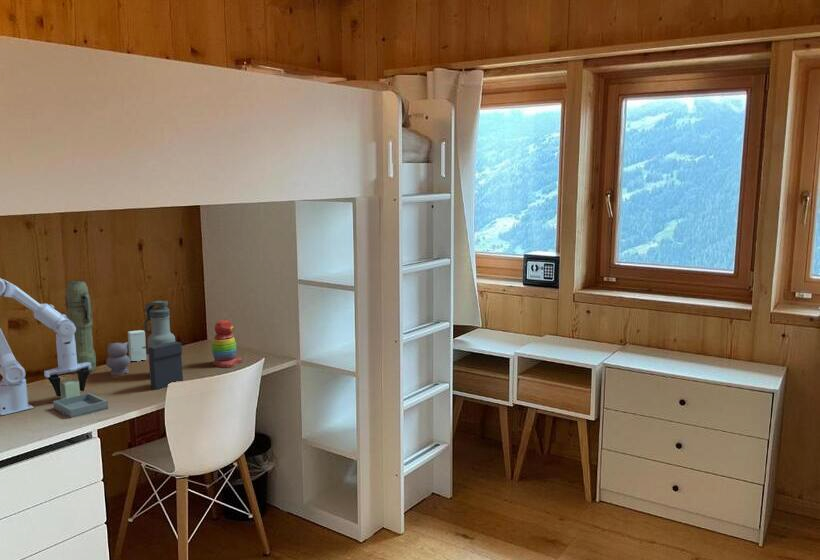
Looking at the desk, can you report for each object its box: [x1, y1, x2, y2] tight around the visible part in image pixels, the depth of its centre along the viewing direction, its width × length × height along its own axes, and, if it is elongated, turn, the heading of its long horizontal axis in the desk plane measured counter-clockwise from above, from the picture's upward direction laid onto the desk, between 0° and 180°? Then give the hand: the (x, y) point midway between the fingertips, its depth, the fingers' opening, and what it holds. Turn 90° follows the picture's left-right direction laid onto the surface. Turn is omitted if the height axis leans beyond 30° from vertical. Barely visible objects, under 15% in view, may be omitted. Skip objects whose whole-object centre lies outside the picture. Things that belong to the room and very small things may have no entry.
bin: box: [52, 392, 109, 419], centre depth 222 cm, size 12×14×2 cm
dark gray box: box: [147, 340, 184, 390], centre depth 245 cm, size 11×4×15 cm, turn 141°
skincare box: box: [127, 329, 147, 362], centre depth 281 cm, size 6×4×12 cm
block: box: [60, 378, 81, 399], centre depth 232 cm, size 4×4×6 cm
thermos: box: [64, 279, 97, 374], centre depth 265 cm, size 9×12×35 cm
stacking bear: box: [211, 318, 243, 369], centre depth 273 cm, size 11×10×18 cm
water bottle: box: [143, 300, 176, 369], centre depth 258 cm, size 10×10×28 cm
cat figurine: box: [105, 341, 131, 376], centre depth 262 cm, size 8×8×12 cm
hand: (70, 393), depth 232 cm, fingers open, 7 cm apart
